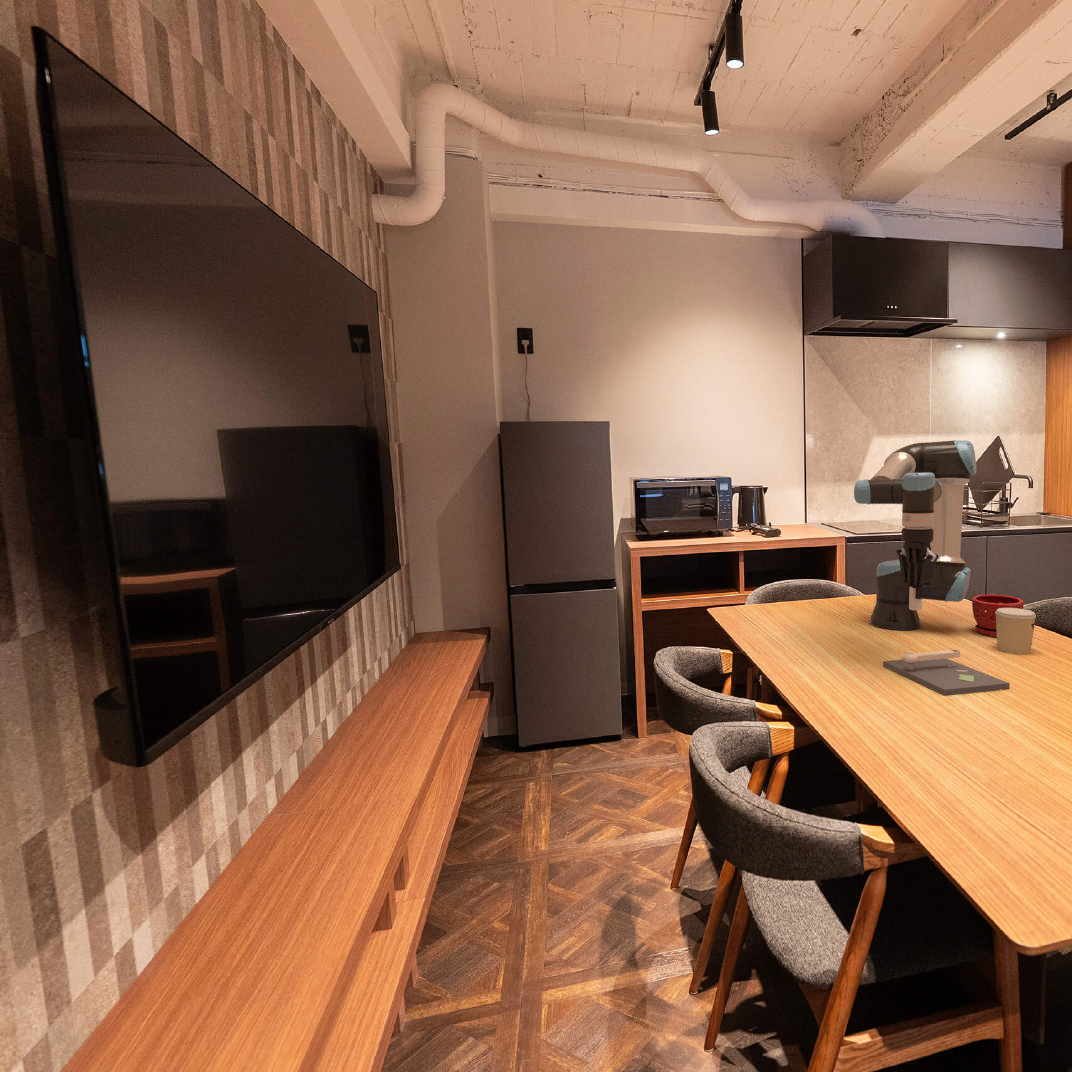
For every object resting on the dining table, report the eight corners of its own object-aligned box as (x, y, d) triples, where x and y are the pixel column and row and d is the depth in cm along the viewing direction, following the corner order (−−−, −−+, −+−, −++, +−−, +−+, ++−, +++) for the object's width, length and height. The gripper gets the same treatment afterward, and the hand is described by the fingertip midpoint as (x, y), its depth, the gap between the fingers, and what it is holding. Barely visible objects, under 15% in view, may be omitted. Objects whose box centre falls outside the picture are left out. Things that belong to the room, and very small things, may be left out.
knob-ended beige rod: (909, 663, 156) (909, 657, 156) (900, 659, 159) (900, 653, 159) (962, 658, 158) (963, 652, 157) (953, 654, 161) (953, 648, 160)
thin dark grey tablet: (882, 666, 166) (883, 653, 165) (939, 660, 168) (940, 648, 167) (944, 695, 144) (945, 680, 144) (1009, 688, 146) (1010, 674, 145)
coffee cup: (1041, 655, 168) (1043, 615, 166) (1005, 654, 170) (1006, 615, 168) (1021, 645, 177) (1023, 607, 176) (987, 644, 179) (988, 607, 177)
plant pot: (974, 626, 198) (976, 592, 197) (1024, 632, 189) (1026, 596, 188) (967, 635, 189) (969, 599, 188) (1019, 642, 180) (1021, 604, 179)
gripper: (888, 526, 167) (886, 605, 170) (923, 530, 154) (920, 615, 157) (912, 524, 168) (910, 603, 171) (948, 528, 155) (945, 613, 158)
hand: (915, 609), depth 164 cm, fingers closed
